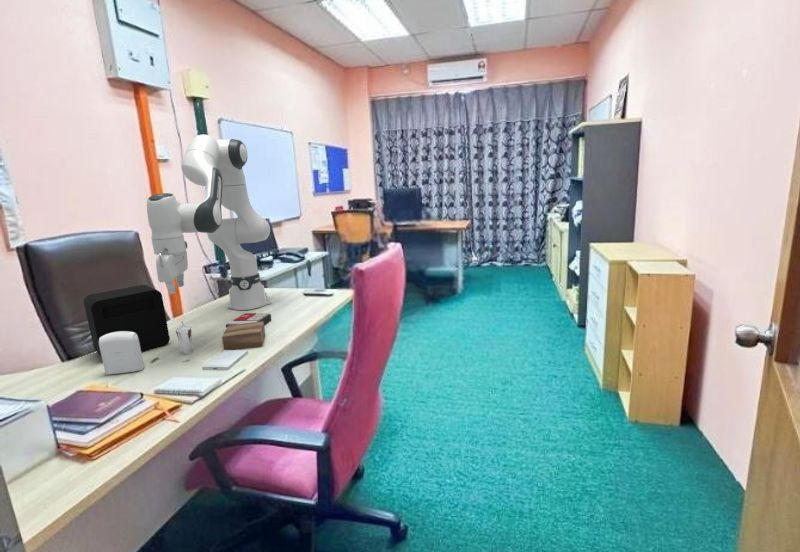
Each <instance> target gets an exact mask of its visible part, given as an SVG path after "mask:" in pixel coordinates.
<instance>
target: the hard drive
mask: <svg viewBox="0 0 800 552" xmlns="http://www.w3.org/2000/svg"><path fill="white" fill-rule="evenodd" d="M248 354H249V351H248V349H247V350H246V349H239V350H225V351H224V350H223V351H222V352H220V353H219V354H218V355H216V356H215V357H214V358H212V359H211V360H210V361H209V362H207V363H206V364H204V365H203V366H202V367H201V369H202V370H203V371H229V370H230V369H232V368H233V367H234V366H235V365H236V364H238V363H239V362H240V361H241V360H242V359H243V358H244V357H246V356H247V355H248Z"/></svg>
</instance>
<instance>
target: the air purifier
mask: <svg viewBox="0 0 800 552" xmlns="http://www.w3.org/2000/svg"><path fill="white" fill-rule="evenodd" d="M83 305H84V306H83V307H84V309H85V314H86V319H87V324H88V327H89V332H90V336H91V342H92V345H93V349H94V350H95V351H96V353H98V355H99V356H100V357H101V358H102V356H101V352H100V347H99V338H100V337H101V336H103V335H106V334H109V333H112V332H118V331H129V332H135V333H136V334H137V335H138V339H139V344H140V348H141V353H143V352H144V353H145V352H148V351H151V350H155V349H158V348H162V347H165V346H167V345H168V344H169V342H170V340H171V339H170V332H169V327H168V322H167V316H166V310H165V306H164V299H163V294H162V292H161V291H160V290H158V289H155V288H153V287H151V286H149V285H146V284H140V285H136V286H130V287H124V288H119V289H112V290H107V291H102V292H97V293H92V294H88V295H86V296H85V297H84V300H83Z"/></svg>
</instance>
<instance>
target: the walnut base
mask: <svg viewBox="0 0 800 552" xmlns="http://www.w3.org/2000/svg"><path fill="white" fill-rule="evenodd" d="M221 338H222V339H221V341H222V345H223V351H225V350H246V349H247V350H248V349H253V348H260V347H263V346H264V341H265V338H266V330H265V326H264V321H260V322H252V323H243V324H235V325H228V326H227V328H226V327H225V330H224V331H223V333H222V337H221Z"/></svg>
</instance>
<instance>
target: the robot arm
mask: <svg viewBox="0 0 800 552" xmlns="http://www.w3.org/2000/svg"><path fill="white" fill-rule="evenodd" d="M247 161H248V151H247V147H246V145H245V143H244V142H243V141H242V140H239V139H235V138H231V139H227V138H225V139H223V138H222V139H221V138H220V139H219V138H216V139H215V138H214V137H212V136H211V135H208V134H198V135H196V136H195V137H193V139H192V140H191V141H190V143H189V144H188V146H187V148H186V150H185V152H184V155H183V158H182V160H181V166H180V168H181V171H182V173H183V175H184V176H185V178H186V179H188V181H189V182H191V183H193V184H195V185H198V186H201V187H205V195H204V196H205V197H204V199H202V200H201V201H198V202H197V201H196V202H185V203H184V202H180V201H178V200H177V198H176V196H175V195H174V193H171V192H170V193H167V192H166V193H165V192H163V193H157V194H152V195H150V196H149V197H148V198H147V199H146V213H147V214H146V215H147V221H148V226H149V228H150V229H151V238H150V239H151V243H152V250H153V253H154V255H158V256H157V257H156V260H155V267H156V274H157V279H158V282H159V283H164V284H165V287H166V288H167V291H168V294H169V295H174V294H176V293H177V289H176V287H177V288H183V287H184V286H185V283H184V280H185V279H184V278H185V277H184V276H185V274H184V272H186V271H187V270H188V267H189V266H188V265H189V264H188V254H187V249H188V243H187V241H186V240H185V237H184V234H189V233H203V234H205V233H206V235H207V238H208V240H209V241H210V242H211V243H213V244H214V245H216V246H217V247H219V248H220V249H221V250H222V251H223V252H224V254H225V256H226V257H227V260H228V264H229V267H230V282H231V283H230V284H231V287H230V288H229V289H228V293H229V295H228V296H229V303H228V304H227V305H226V309H229V310H230V309H231V310H235V311H245V310H246V311H247V310H254V309H257V308H261V307H263V306H267V305H271V304H272V302H271V299H270V298H269V295H268V294H267V292H265V286H264V284H262V282H261V275H260V273H259V270H258V263H257V257H256V255H255V254H253V253H252V252H251V251H248V250H245V249H244V248H243V247H242V246H241V245H242V244H249V243H250V244H253V243H258V242H259V243H260V242H262V241H266V240H267V239H268V238H269V236H270V234H271V226H270V223H269V222H268V220H266V218H265V217H262V215H260V214H259V213H258V212H257V211H256V210H255V209H254V208H253V206H252V204H251V202H250V198H249V195H248V189H247V183H246V176H245V174H244V170H243V167H245V165H246V163H247ZM222 207H224V208H225V209H227V210H229V211H232V212H234V213H235V214H236V216H237V217H231V218H222V217H223V215H222V214H223V213H222ZM175 279H176V283H174V282H175V281H174V280H175ZM175 284H176V286H175Z"/></svg>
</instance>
